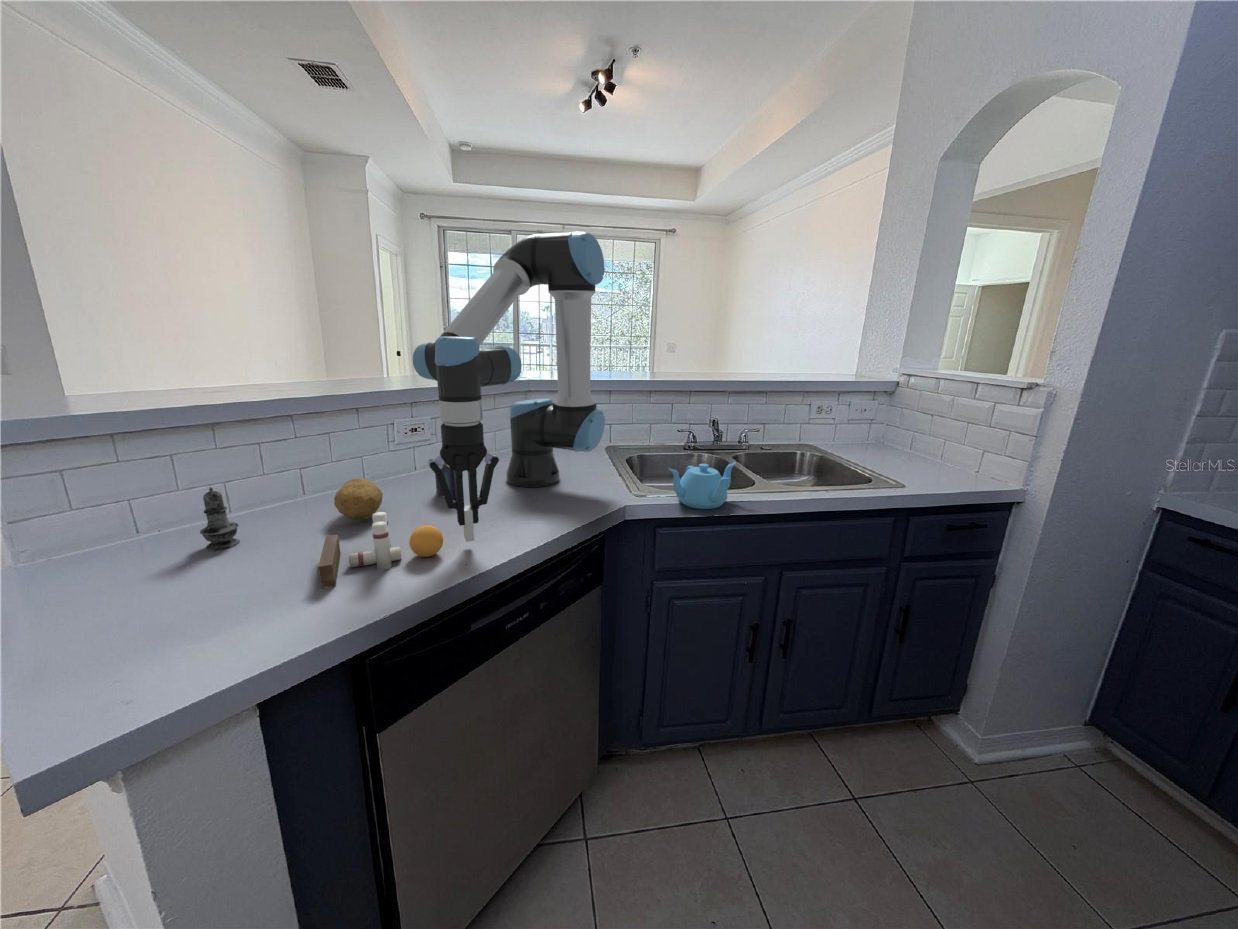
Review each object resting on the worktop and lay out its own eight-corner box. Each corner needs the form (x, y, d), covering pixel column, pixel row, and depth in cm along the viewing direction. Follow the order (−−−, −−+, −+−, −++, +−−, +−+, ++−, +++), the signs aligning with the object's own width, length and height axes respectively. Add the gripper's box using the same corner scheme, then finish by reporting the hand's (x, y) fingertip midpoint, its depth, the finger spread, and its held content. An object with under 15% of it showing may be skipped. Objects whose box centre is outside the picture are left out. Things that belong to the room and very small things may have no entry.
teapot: (681, 490, 135) (684, 454, 132) (736, 498, 129) (739, 461, 127) (666, 507, 122) (668, 468, 119) (725, 516, 116) (729, 476, 113)
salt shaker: (239, 536, 99) (227, 480, 96) (244, 545, 95) (232, 487, 92) (202, 544, 95) (188, 486, 92) (205, 554, 91) (191, 494, 88)
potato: (335, 531, 102) (329, 496, 100) (338, 509, 114) (333, 477, 112) (385, 524, 106) (381, 490, 104) (383, 503, 118) (380, 472, 116)
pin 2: (391, 563, 90) (387, 520, 87) (392, 569, 87) (387, 525, 85) (376, 565, 89) (371, 522, 86) (376, 571, 86) (371, 527, 84)
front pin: (399, 544, 92) (348, 551, 88) (400, 550, 89) (348, 558, 86) (400, 555, 92) (350, 563, 89) (401, 562, 90) (350, 570, 87)
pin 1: (391, 551, 94) (386, 511, 92) (391, 557, 92) (386, 515, 89) (376, 554, 93) (372, 512, 91) (376, 559, 91) (371, 517, 88)
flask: (434, 493, 127) (431, 454, 124) (444, 491, 129) (441, 452, 126) (454, 502, 121) (451, 461, 118) (464, 499, 123) (462, 458, 120)
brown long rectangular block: (340, 553, 93) (337, 534, 91) (335, 586, 81) (332, 564, 80) (328, 555, 92) (325, 536, 91) (321, 588, 81) (318, 566, 79)
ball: (404, 525, 92) (412, 552, 95) (407, 538, 87) (415, 566, 90) (436, 516, 95) (443, 543, 97) (441, 528, 90) (448, 556, 92)
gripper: (493, 416, 96) (498, 526, 102) (422, 420, 90) (432, 536, 97) (501, 423, 89) (506, 540, 96) (426, 428, 84) (436, 552, 90)
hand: (469, 538), depth 96 cm, fingers closed
